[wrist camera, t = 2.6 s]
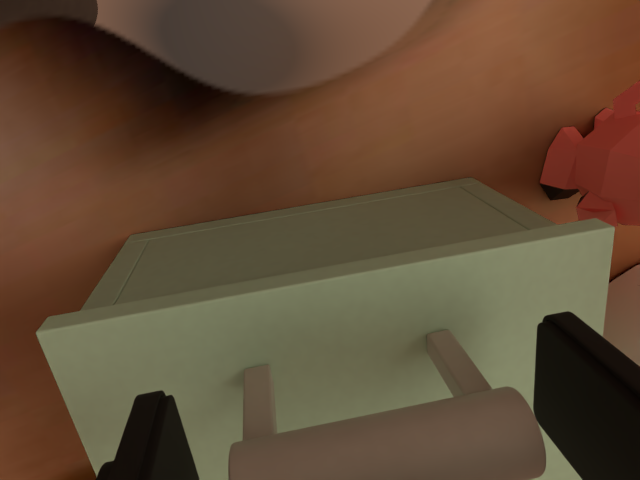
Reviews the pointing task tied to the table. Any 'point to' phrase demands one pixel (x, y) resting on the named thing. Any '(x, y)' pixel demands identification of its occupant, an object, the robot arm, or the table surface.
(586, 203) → the pink faceted figure
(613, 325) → the cup
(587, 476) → the robot arm
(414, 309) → the lid
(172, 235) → the cooler
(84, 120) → the table surface
